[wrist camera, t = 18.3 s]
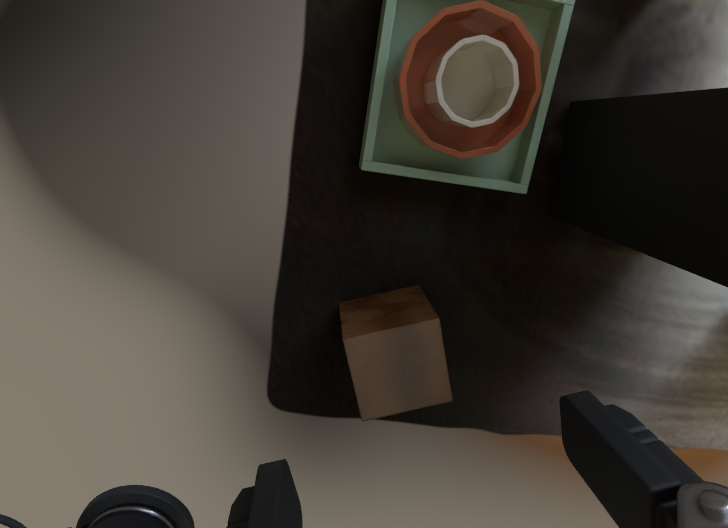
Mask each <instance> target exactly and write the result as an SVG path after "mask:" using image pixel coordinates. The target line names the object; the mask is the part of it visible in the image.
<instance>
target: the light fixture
mask: <svg viewBox="0 0 728 528" xmlns="http://www.w3.org/2000/svg"><path fill="white" fill-rule="evenodd" d="M550 216H551V217H554V218H556V219H559V220H561V221H564V222H566V223H569V224H571V225H574V226H576V227H579V228H581V229H584V230H586V231H589V232H591V233H594V234H596V235H599V236H601V237H604V238H606V239H609V240H611V241H614V242H616V243H619V244H621V245H624V246H626V247H629V248H631V249H634V250H636V251H639V252H641V253H644V254H646V255H648V256H651V257H653V258H656V259H658V260H661V261H663V262H666V263H668V264H671V265H673V266H676V267H678V268H681V269H683V270H686V271H688V272H691V273H693V274H696V275H698V276H701V277H703V278H706V279H708V280H711V281H713V282H716V283H718V284H721V285H723V286H726V287H728V88H719V89H708V90H696V91H685V92H674V93H663V94H652V95H641V96H629V97H618V98H607V99H596V100H585V101H573V102H571V103H570V109H569V114H568V120H567V125H566V131H565V136H564V142H563V147H562V153H561V158H560V164H559V169H558V175H557V180H556V186H555V191H554V197H553V202H552V208H551V213H550Z"/></svg>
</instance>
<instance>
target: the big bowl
mask: <svg viewBox="0 0 728 528" xmlns="http://www.w3.org/2000/svg"><path fill="white" fill-rule="evenodd" d="M479 35H486V36H489V37H491V38H494V39H496V40H498V41H501V42H503V43H504V44H505V45H506V46H507V48H508V49H509V50H510V52H511V53H512V55H513V56H514V58H515V59H516V61H517V64H518V76H519V85H518V86H519V88H518V90H517V93H516V95H515V98H514V100H513V103H512V105H511V107H509V108H510V109H509V110H508V111H506V112H505V113H504V114H503V115H502V116H501V117H500V118H499V119H497V120H496V121H495V122H494V123H492V124H488V125H483V126H478V127H473V128H466V127H454V126H451V125H447V124H445V123H443V122H441V121H439V120H438V119H437V118H436V117H434V115H433V114H432V113H431V112H430V110H429V109H428V107H427V105H426V102H425V98H424V91H423V85H424V78H425V75H426V72H427V70H428V68H429V66H430V64H431V62H432V61H433V60H434V59H435V58H436V57H437V56H438V55H439V54H441V53H442V52H443V51H444V50H445V49H446V48H448V47H450V46H451V45H453V44H454V43H456V42H458V41H459V40H461V39H464V38H469V37H474V36H479ZM538 48H539V47H538V46H537V44H536V43H535V41H534V40H533V38H532V37H531V35H530V34H529V32H528V31H527V29H526V28H525V26H524V25H523V23H522V22H521V20H520V19H519V17H518V16H517V15H515V14H513V13H511V12H508V11H506V10H504V9H501V8H499V7H497V6H494V5H492V4H490V3H487V2H485V1H481V0H480V1H476V2H471V3H466V4H461V5H456V6H451V7H446V8H443V9H441V10H440V11H439V12H438V13H437V14H436V15H435V16H434V17H433V18H432V19H431V20H430V21H429V22H428V23H426V24H425V25H424V26H423V27H422V28H421V29H420V30H419V31H418V32H417V33H416V34H415V35H414V36H413V37H412V38H411V39H410V40H409V41H407V42H406V44H405V46H404V49H403V52H402V54H401V57H400V59H399V62H398V64H397V68H396V72H395V76H394V79H393V86H394V98H395V104H396V108H397V111H398V116H399V118H400V120H401V122H402V123H403V124H404V126H405V127H406V129H407V130H408V132H409V133H410V134H411V135H412V136H413V137H414V138H415V139H416V140H417V141H418V143H419V144H420V145H421V146H423V147H426V148H429V149H432V150H434V151H437V152H440V153H443V154H446V155H448V156H451V157H455V158H459V159H466V158H470V157H475V156H480V155H484V154H489V153H494V152H497V151H499V150H500V149H501V148H502V147H504V146H505V145H506V144H507V143H508V142H509V141H511V140H512V139H513V138H514V137H515V136H516V135H517V134H519V133H520V132H521V131H522V130H523V129H524V128H525V127H526V126H527V124H528V122H529V120H530V117H531V115H532V112H533V110H534V107H535V105H536V103H537V100H538V98H539V95H540V93H541V90H542V80H541V66H540V52H539V49H538Z"/></svg>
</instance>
